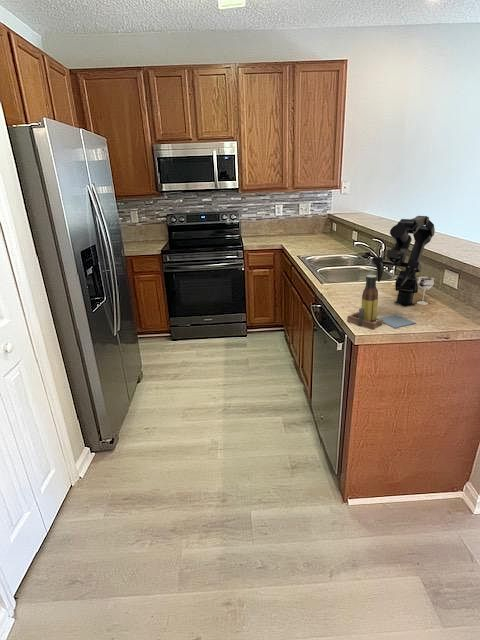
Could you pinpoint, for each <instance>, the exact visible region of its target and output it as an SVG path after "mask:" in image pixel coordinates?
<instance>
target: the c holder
mask: <svg viewBox="0 0 480 640" xmlns="http://www.w3.org/2000/svg"><path fill="white" fill-rule="evenodd" d="M364 311H365V309H363V308H359V309H358V311H356V312H354V313H352V314H349V315H348V316H347V317H346V320H347V321H346V322H347V323H350V324H353V325H357V326H358V327H362V328H366V329H369V330H375V329H377V328H379V327H381V326H383V324H384V323H383V319H379V320H376V321H375V322H369V321H366V320H364Z"/></svg>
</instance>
